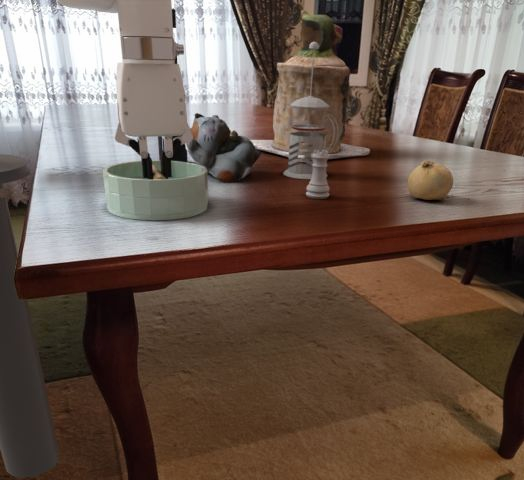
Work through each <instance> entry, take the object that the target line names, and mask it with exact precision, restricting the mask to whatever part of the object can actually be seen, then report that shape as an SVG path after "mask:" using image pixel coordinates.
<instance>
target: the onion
mask: <svg viewBox="0 0 524 480" xmlns="http://www.w3.org/2000/svg"><path fill="white" fill-rule="evenodd" d="M453 186H454V177H453V174H452V171H451V170H450V169H449V168H448V167H446V165H444V164H442V163H437V162H434V161H432V160H429V159H426V160H422V161H421V164H419V165H418V166H416V167H415V168H414V169H413V170H412V172H411V173H410V174H409V176H408V179H407V189H408V192H409V195H410V196H411V197H413V198H415V199H422V200H426V201H429V200H430V201H432V200H436V201H443V200H445V199H446V197H447V196H448V194H449V193H450V192H451V190H452V188H453Z"/></svg>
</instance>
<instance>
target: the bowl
mask: <svg viewBox="0 0 524 480" xmlns="http://www.w3.org/2000/svg"><path fill="white" fill-rule="evenodd" d="M152 165H155V166H157V167H158V169H159V170H160V171H161V163H160V160H159V159H152ZM171 169H172V177H168V179H147V178H143V173H142V161H141V160H131V161H124V162H117V163H113V164H109V165H107V166H105V167H104V168H103V169H102V176H103V177H102V178H103V187H104V196H105V203H106V209H107V211H108V212H109V213H110V214H111V215H114V216H117V217H120V218H124V219H130V220H136V221H137V220H139V221H171V220H180V219H187V218H191V217H195V216H198V215H200V214H203V213H204V212H206V211H207V210H208V207H209V206H208V205H209V204H208V203H209V176H208V174H209V173H208V171H207V169H206V167H204V166H201V165H198V164H197V163H193V162H189V161H188V162H181V161H171Z"/></svg>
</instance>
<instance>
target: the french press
mask: <svg viewBox="0 0 524 480" xmlns="http://www.w3.org/2000/svg"><path fill="white" fill-rule="evenodd" d="M309 48H313V61H312V75H311V90H310V96H308V97H305V98H300V99H298V100H296V101H295V102H293V103H292V104H291V108H296V109H308V110H309V119H308V125H306V124H296V125H292V128H293V129H295V130H301V131H322V130H325V126H322V125H312V124H311V125H310V124H309V120H310V110H324V109H328V108H329V107H330V106H329V105H328V104H327V103H325V102H324V101H323V100H321V99H319V98H315V97H313V96H311V91H312V76H313V62H314V49H319V45H318V43H317V42H312V43H311V44H310V46H309ZM329 115H330V114H328V115H324V116H326V117H327V120H326V121H324V116H323V121H324V122H327V121H328V118H329V117H328V116H329ZM330 116H331V117H332V118H333V119H334V121H335V122H336V125H337V129H338V132H337V139H336V142H335V144H334V146H333V147H332V148H331V146H332V144H333V141H334V138H335V127H334V124H333V122H332V120H331V119H330V118H329V119H330V121H331V122H332V125H333V129H334V135H333V141H332V144H331V145H330V147H329V148H328V149H327V150H326V151H330V150H332V149H333V148H334V147H335V145H336V143H337V140H338V135H339V127H338V124H337V121H336V120H335V118H334V117H333V116H332V115H330ZM323 140H324V143H322V142H323ZM299 142H301V143H309V144H310V145H307V146H304V145H299ZM322 146H323V147H324V150H325V147H326V134H322V133H316V132H292V133H290V142H289V157H288V165H287V169H285V170H284V172H282V173H283V176H286V177H288V178H292V179H298V180H299V179H301V180H311V177H312V172H313V166H312V164H313V163H314V160H313V158H312V157H311V156H312V155H313V153H314V150H320V152H322V150H323V149H322ZM310 147H313V148H310ZM330 148H331V149H330ZM298 149H306V150H309V151H307V152H299V151H298ZM326 151H325V152H326ZM316 152H317V151H316ZM310 153H312V155H311V154H310ZM299 155H304V156H307V157H306V158H298V156H299ZM310 159H312V160H310ZM327 177H328V174H327V173H326V178H327Z"/></svg>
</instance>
